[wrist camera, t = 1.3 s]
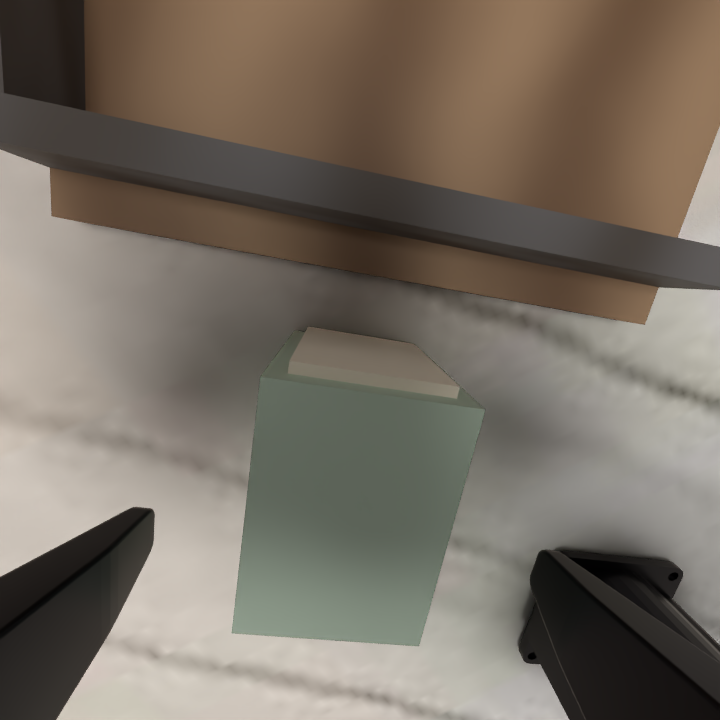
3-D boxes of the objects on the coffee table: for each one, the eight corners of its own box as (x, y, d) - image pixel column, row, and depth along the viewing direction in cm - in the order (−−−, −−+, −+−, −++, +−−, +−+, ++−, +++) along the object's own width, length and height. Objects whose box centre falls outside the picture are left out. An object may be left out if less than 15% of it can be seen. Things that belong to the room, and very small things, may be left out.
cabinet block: (423, 343, 13) (489, 397, 8) (387, 502, 15) (418, 646, 9) (295, 322, 13) (261, 363, 7) (274, 489, 15) (231, 632, 9)
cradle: (781, -138, 10) (1019, -358, 7) (618, 320, 14) (718, 337, 10) (69, -392, 8) (-139, -908, 5) (80, 222, 11) (-37, 198, 8)
